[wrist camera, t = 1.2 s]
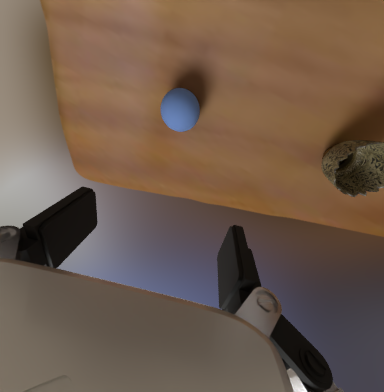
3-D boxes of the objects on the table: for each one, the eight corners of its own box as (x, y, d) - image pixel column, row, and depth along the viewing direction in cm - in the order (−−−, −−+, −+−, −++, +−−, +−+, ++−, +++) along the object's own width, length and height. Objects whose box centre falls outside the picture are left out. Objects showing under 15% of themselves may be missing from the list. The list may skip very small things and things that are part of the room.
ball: (202, 89, 27) (198, 86, 21) (200, 129, 30) (196, 135, 24) (166, 88, 27) (153, 85, 22) (167, 128, 30) (156, 133, 25)
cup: (299, 157, 30) (323, 173, 23) (341, 122, 26) (386, 129, 19) (324, 183, 31) (354, 206, 24) (368, 153, 28) (417, 170, 21)
